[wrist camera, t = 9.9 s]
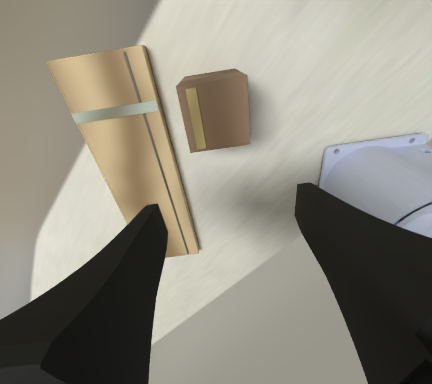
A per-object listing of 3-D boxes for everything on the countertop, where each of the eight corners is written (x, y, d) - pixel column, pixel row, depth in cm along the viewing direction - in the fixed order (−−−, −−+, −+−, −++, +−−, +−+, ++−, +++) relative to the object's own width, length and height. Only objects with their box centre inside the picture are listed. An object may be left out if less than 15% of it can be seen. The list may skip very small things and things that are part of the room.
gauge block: (234, 68, 16) (247, 75, 11) (238, 119, 19) (250, 144, 14) (185, 76, 17) (175, 86, 12) (194, 126, 19) (190, 153, 14)
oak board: (144, 45, 15) (140, 45, 14) (198, 247, 28) (198, 254, 27) (54, 61, 16) (44, 61, 15) (147, 253, 28) (145, 260, 27)
